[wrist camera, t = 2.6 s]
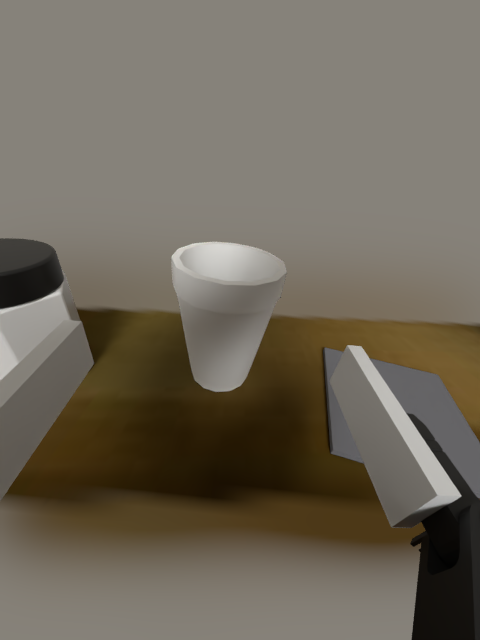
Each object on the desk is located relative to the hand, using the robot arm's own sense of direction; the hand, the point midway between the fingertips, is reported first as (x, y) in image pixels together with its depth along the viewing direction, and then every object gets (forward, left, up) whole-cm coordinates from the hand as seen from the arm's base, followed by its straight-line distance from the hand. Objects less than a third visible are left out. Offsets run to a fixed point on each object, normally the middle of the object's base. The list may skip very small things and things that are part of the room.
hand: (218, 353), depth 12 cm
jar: (+19, -4, -12) cm, 23 cm away
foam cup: (+2, -10, -12) cm, 15 cm away
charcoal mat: (-17, -11, -12) cm, 23 cm away
